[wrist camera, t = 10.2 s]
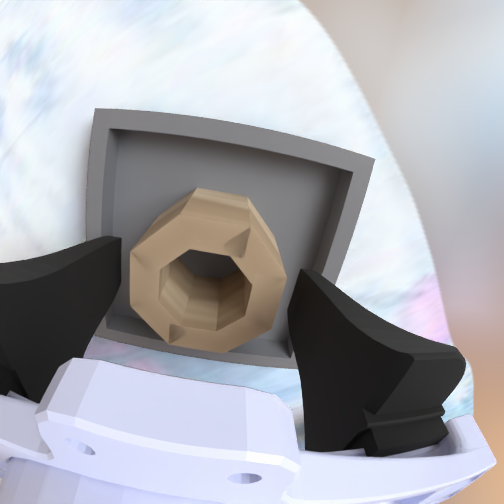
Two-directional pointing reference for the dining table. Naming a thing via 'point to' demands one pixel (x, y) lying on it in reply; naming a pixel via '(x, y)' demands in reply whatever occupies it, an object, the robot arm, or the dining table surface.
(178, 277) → the ring
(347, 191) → the tray
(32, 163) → the dining table surface
